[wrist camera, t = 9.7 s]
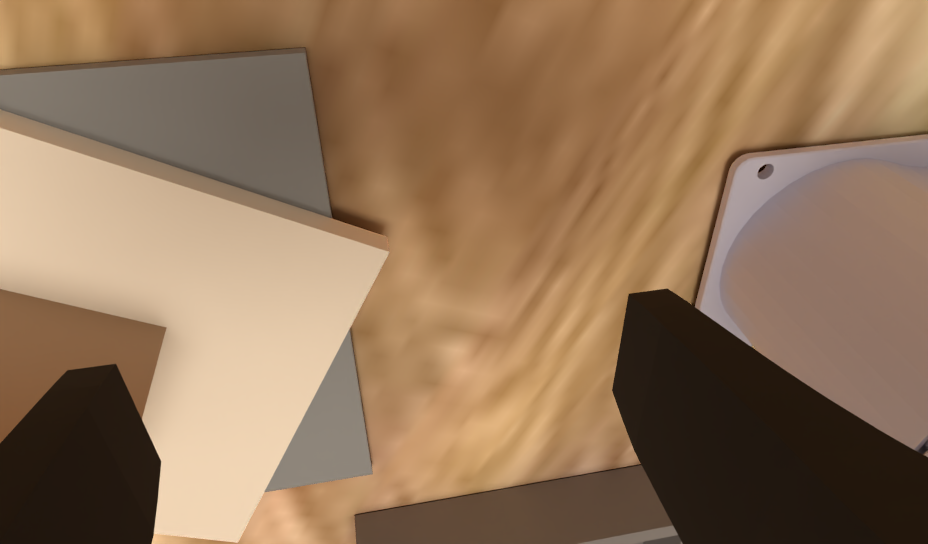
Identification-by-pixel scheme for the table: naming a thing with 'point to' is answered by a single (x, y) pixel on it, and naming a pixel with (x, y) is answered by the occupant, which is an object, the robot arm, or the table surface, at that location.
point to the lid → (173, 309)
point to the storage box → (533, 515)
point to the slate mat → (219, 178)
